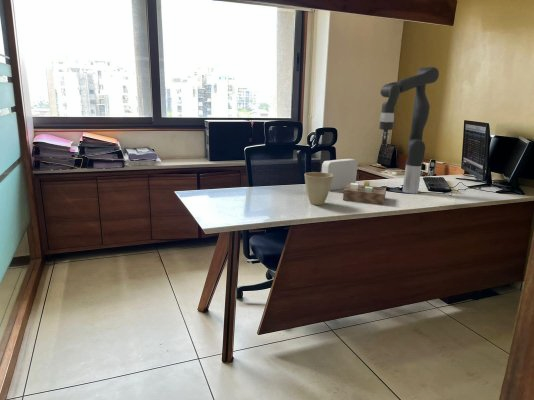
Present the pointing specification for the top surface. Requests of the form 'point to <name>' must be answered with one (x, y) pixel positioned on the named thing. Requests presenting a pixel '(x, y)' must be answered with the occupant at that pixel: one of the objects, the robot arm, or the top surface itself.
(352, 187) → the off-white button
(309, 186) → the plant pot
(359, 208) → the top surface
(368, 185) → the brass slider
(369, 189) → the sage green button
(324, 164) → the rounded white slab
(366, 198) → the switch panel
